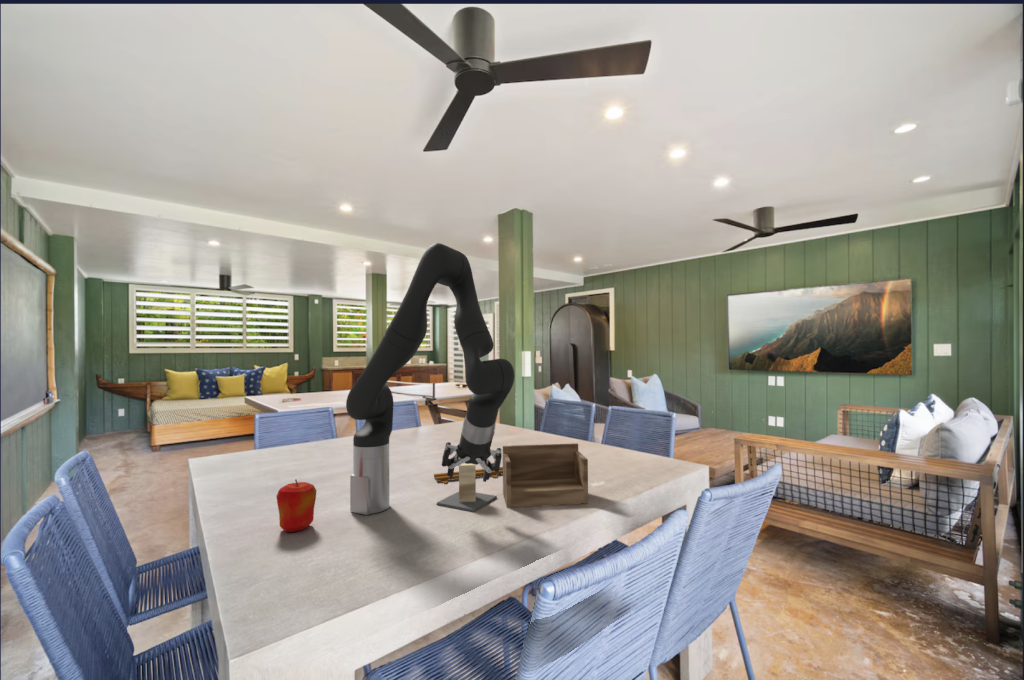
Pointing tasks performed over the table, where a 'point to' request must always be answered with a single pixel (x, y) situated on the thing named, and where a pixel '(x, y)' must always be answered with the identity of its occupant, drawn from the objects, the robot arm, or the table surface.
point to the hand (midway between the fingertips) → (467, 477)
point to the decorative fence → (444, 477)
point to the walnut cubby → (544, 475)
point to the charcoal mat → (468, 506)
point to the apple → (296, 506)
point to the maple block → (467, 483)
